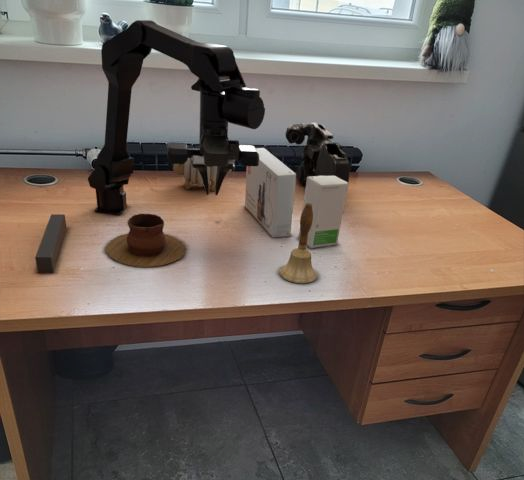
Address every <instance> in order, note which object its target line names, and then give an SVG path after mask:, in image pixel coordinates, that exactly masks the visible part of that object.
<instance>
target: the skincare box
mask: <svg viewBox="0 0 524 480" xmlns="http://www.w3.org/2000/svg"><path fill="white" fill-rule="evenodd" d="M255 148H256V150H257V152H258V153H259V166H246V172H245V193H244V194H245V195H244V196H245V197H244V198H245V199H244V206H245V208H246V209H247V210H248V211H249V213H251V215H252V216H253V218H255V219H256V221H258V222H259V224H260V225H261V226H262V227H263V228H264V229H265V231H267V233H269V235H270V236H271V237H272V238H281V237H290V236H291V233H292V224H293V223H292V222H293V214H294V202H295V201H294V200H295V191H296V180H297V178H296V172H294V171H293V170H292V169H291V168H290V167H288V166H287V165H286V164H284V163H283V162H282V161H281V160H280V159H279V158H277V157H276V156H275V155H273V154H272V153H271V152H270V151H269V150H268V149H266V148H264V147H255Z"/></svg>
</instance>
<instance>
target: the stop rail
mask: <svg viewBox="0 0 524 480" xmlns="http://www.w3.org/2000/svg"><path fill="white" fill-rule="evenodd" d="M67 229H68V228H67V221H66V214H62V213H61V214H55V213H53V214H50V217H49V219H48V221H47V225H46V227H45V230H44V233H43V235H42V238H41V240H40V243H39V246H38V248H37V251H36V254H35V256H34V259H35V264H36V270H37V273H39V274H46V273H47V274H49V273H54V272H55V270H56V266H57V262H58V259H59V256H60V252H61V249H62V245H63V244H64V243H63V242H64V239H65V235H66V232H67Z"/></svg>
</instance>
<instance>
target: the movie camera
mask: <svg viewBox="0 0 524 480" xmlns="http://www.w3.org/2000/svg"><path fill="white" fill-rule="evenodd" d="M285 138H286V141H287V142H288V144H291V145H292V144H296V145H302V144H304V141H305V139H307V140H306V145H303V146H302V149H303V150H302V152H301V160H302V161H301V163H300V165H298V166H297V167H296V170H295V174H296V180H297V181H298V182H301V184H302V185H303V186H304V187H306V182H307V177H310V176H336V177H338V178H340V179H342V180H344V181H346V182H348V183H349V182H350V161H349V159H348V156H347V155H348V154H347V153H346V152H345V151H343V147H342V144H340V143H339V142H335V141H332V139H333V140H334V134H332V133H331V132H330V131H329V130H327V128H326V127H325V125H323V124H321V123H317V122H309V123H307V122H306V123H305V122H299V123H298V122H297V123H294V124H291V125H289V126H288V127H287V128H286V131H285Z"/></svg>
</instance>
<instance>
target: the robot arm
mask: <svg viewBox="0 0 524 480" xmlns="http://www.w3.org/2000/svg"><path fill="white" fill-rule="evenodd" d="M152 50H155V51H156V52H159V53H161V54H163V55H165V56H167V57H169V58H172V59H174V60H175V61H178V62H180V63H183V64H184V65H185V66H186V67H187V68H188V69H189V71H190V73H192V75H194V76H196V77H197V78H198V79H197V81H195V82H194V83H193V84H191V87H190V89H191V90H192V91H195V92H199V143H198V144H199V148H196V147H195V148H194V147H188V145H187V142H177V141H176V142H172V141H171V142H170V141H169V142H168V144H167V145H166V156H167V163H168V164H171V165H174V164H184V163H185V162H186V161H187V160H188V158H191V162H192V167H193V168H197V169H198V170H199V172H200V175H201V177H202V180H203V183H204V185H203V187H204V190H205V193H206V196H209V195H210V184H209V185H208V175H207V166H208V167H212V166H217V174H216V181H215V190H214V195H215V196H218V195H219V192H220V190H221V188H222V185H223V182H224V180H225V178H226V176H227V174H228V173H229V172H228V171H229V170H230V169H232V170H235V168H236V166H235V162H236V161H240V163H241V164H242V165H243V166H244V167H247V166H259V153H258V152H257V150H256V148H257V147H255V146H254V145H248V144H247V145H246V144H245V145H244V144H240V141H239V140H235V139H234V140H233V139H232V140H231V139H229V124H232V125H236V126H240V127H243V128H248V129H251V130H256V129H258V128H260V127H261V125H262V123H263V121H264V118H265V114H266V108H265V103H264V101H263V99H262V97H260V95H261V90H260V89H259V88H258V89H257V88H249V87H247V85H246V82H245V80H244V78H243V75H242V73H241V70H240V69H239V66H238V63H237V62H236V56H235V54H234V50H233V49H232V48H231V47H229V46H227V45H223V44H217V43H209V42H199V41H196V40H194V39H192V38H189V37H187V36H185V35H182V34H180V33H178V32H175V31H174V30H172V29H170V28H167V27H164V26H163V25H159V24H158V23H157V22H155V21H154V20H150V19H142V20H141V19H140V20H139V19H138V20H134V21H133V22H132V23H131V24H130V25H128V27H127V28H125V29H124V30H122V31H120V32H119V33H117V34H115V35H114V36H112V37H111V38H110V39H107V40H105V41H104V42H103V43H102V45H101V50H100V51H101V53H100V54H101V69H102V71H103V73H104V76H105V78H106V79H107V84H108V85H107V99H106V100H107V101H106V104H107V105H106V117H105V131H104V133H105V134H104V144H103V146H102V147H101V149H100V151H99V152H98V154H97V156H96V160H95V165H94V170H93V171H92V172H91V174H89V176H88V177H87V182H88V185H89V187H90V188H91V189H95V196H96V197H95V198H96V206H97V207H96V208H95V209H94V212H96V213H102V214H111V215H118V216H119V215H121V214H122V213H123V212H124V211H125V209H127V207H128V203H127V202H128V201H127V192H126V191H125V190H124V189H125V188H124V186H125V185H129V181H130V178H131V176H132V174H134V163H135V158H134V157H132V156H130V153H129V151H128V149H127V141H128V133H129V132H128V131H129V121H130V113H131V112H130V111H131V102H132V101H131V100H132V90H133V86H134V85H135V83H136V82H137V81H138V78H139V77H140V75H141V72H142V67H143V65H144V60H145V59H146V58H147V57H148V56H149V55H150V54H151V53H152Z"/></svg>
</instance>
